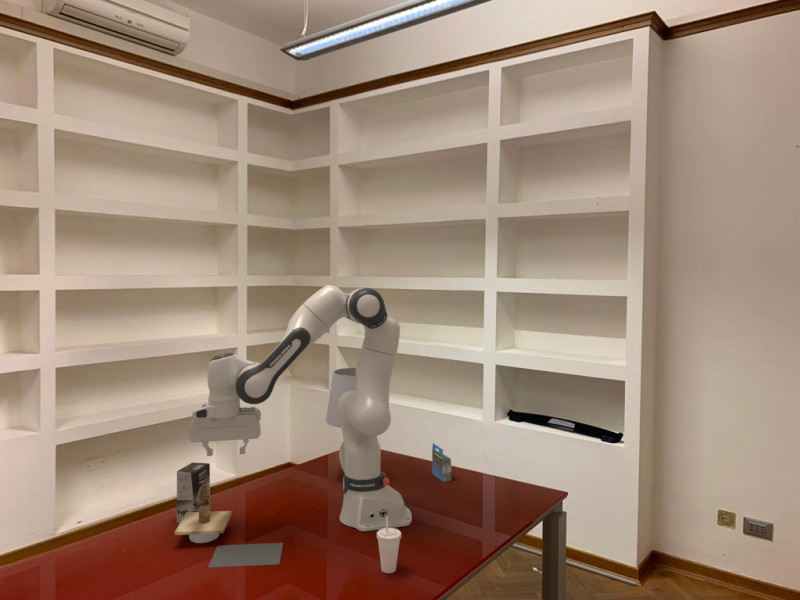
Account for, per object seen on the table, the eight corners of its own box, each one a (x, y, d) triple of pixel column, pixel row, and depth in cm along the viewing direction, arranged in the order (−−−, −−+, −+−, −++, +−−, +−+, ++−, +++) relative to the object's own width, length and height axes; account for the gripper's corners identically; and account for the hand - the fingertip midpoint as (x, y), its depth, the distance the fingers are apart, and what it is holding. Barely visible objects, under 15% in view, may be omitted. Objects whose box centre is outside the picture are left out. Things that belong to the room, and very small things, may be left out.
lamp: (326, 468, 227) (326, 366, 225) (387, 466, 229) (388, 365, 227) (325, 491, 203) (325, 377, 201) (393, 489, 206) (394, 377, 204)
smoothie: (375, 563, 154) (376, 511, 153) (400, 562, 154) (400, 511, 153) (376, 576, 147) (377, 522, 147) (402, 575, 148) (402, 521, 147)
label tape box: (451, 481, 214) (452, 448, 214) (441, 482, 213) (442, 449, 212) (440, 473, 223) (441, 441, 222) (431, 474, 221) (431, 442, 220)
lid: (231, 513, 174) (231, 497, 174) (223, 533, 161) (223, 516, 161) (186, 515, 173) (186, 499, 173) (174, 534, 160) (174, 517, 160)
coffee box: (195, 525, 176) (194, 472, 175) (176, 523, 177) (175, 471, 176) (211, 512, 185) (210, 462, 184) (192, 511, 186) (192, 461, 185)
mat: (283, 544, 164) (283, 542, 164) (279, 565, 152) (279, 564, 152) (217, 546, 162) (217, 545, 162) (208, 568, 150) (208, 567, 150)
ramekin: (181, 538, 167) (181, 524, 167) (209, 528, 174) (209, 514, 174) (198, 548, 161) (198, 533, 161) (226, 537, 168) (226, 523, 168)
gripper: (261, 404, 176) (263, 449, 177) (191, 407, 174) (193, 453, 174) (259, 409, 170) (261, 455, 171) (186, 413, 167) (188, 460, 168)
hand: (226, 454), depth 173 cm, fingers open, 8 cm apart
